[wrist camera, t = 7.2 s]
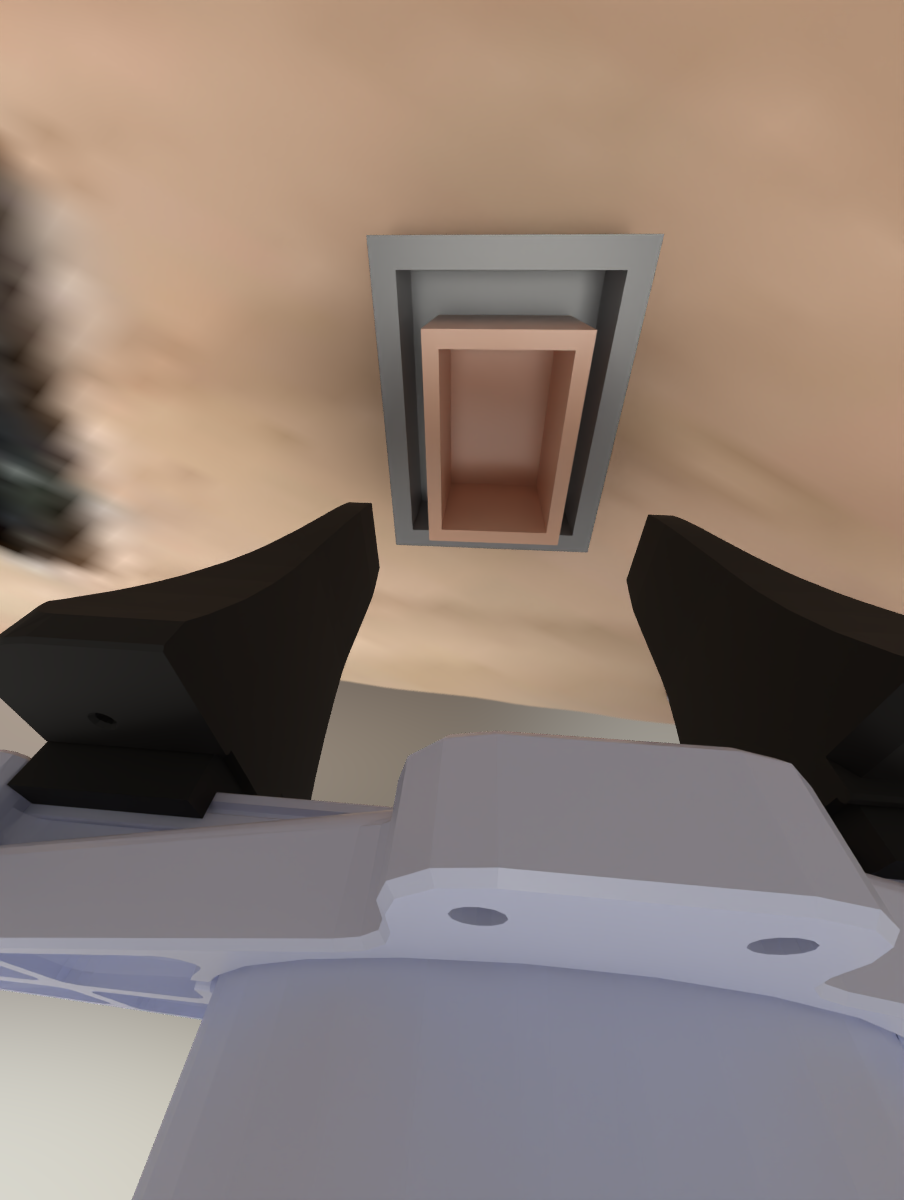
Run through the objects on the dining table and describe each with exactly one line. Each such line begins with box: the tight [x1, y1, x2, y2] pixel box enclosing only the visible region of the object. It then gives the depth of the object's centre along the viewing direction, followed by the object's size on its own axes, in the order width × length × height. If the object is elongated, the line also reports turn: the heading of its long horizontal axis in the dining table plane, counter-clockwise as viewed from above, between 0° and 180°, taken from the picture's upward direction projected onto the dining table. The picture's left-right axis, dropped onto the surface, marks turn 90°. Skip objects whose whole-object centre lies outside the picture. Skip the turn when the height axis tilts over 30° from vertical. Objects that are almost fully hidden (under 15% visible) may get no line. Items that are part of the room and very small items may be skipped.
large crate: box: [366, 234, 664, 552], centre depth 17 cm, size 9×11×4 cm
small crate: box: [421, 315, 597, 545], centre depth 16 cm, size 5×7×5 cm
